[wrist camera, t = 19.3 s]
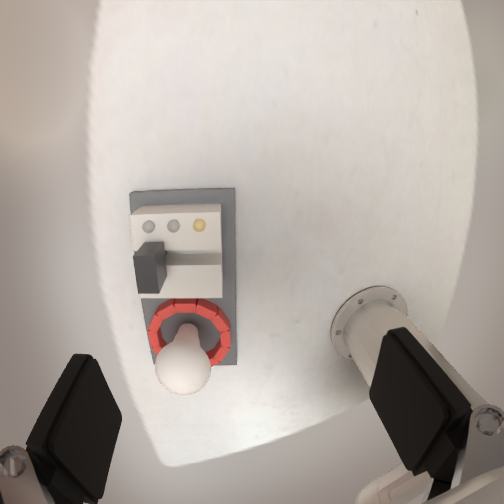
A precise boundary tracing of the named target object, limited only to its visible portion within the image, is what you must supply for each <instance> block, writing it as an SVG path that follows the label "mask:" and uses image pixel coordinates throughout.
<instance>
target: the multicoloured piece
mask: <svg viewBox="0 0 504 504" xmlns="http://www.w3.org/2000/svg"><path fill="white" fill-rule="evenodd" d="M129 196H130V210H131V214H130V215H129V220H130V231H131V241H132V250H133V251H134V252H135V253H136V252H137V251H138V249H139V248H140V247H141V246H142V245H143V243H144V242H164V248H165V250H167V254H166V256H165V260H166V270H167V277H166V280H165V282H164V284H163V286H162V289H161V291H160V293H159V294H139V298H141V302H142V308H143V313H144V319H145V324H146V330H147V335H148V340H149V345H150V349H151V354H152V359H153V363H154V364H155V362H156V358H157V355H158V354H159V352H160V351H161V349H162V348H163V347H165V346H166V345H168V344H169V343H171V342H173V340H174V338H175V336H176V334H177V333H178V330H179V328H180V326H181V325H182V324H185V323H191V324H193V325H195V326H196V327H197V329H198V337H199V340H200V347H201V348H202V349H203V350H204V352H205V353H206V354H207V356H208V358H209V361H210V365H211V367H212V366H214V365H237V348H236V293H235V188H205V189H174V190H153V191H135V192H131V193H129Z"/></svg>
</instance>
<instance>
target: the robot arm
mask: <svg viewBox="0 0 504 504" xmlns="http://www.w3.org/2000/svg"><path fill="white" fill-rule="evenodd" d="M331 338H332V342H333V345H334V347H335V349H336V350H337V352H338V353H339V354H340V355H341V356H343V357H345V358H346V359H350V360H354V361H355V363H356V365H357V366H358V368H359V370H360V372H361V374H362V375H363V377H364V379H365V381H366V383H367V384H368V386H369V388H370V391H369V396H370V400H371V402H372V404H373V406H374V408H375V410H376V411H377V413H378V415H379V417H380V419H381V421H382V423H383V425H384V427H385V429H386V431H387V433H388V434H389V436H390V438H391V440H392V442H393V444H394V446H395V448H396V450H397V452H398V454H399V456H400V458H401V460H402V462H400V463H399V464H398V465H396V466H395V467H393V468H392V469H390V470H389V471H387V472H386V473H384V474H383V475H381V476H379V477H378V478H376V479H375V480H373V481H372V482H370V483H369V484H368V485H366V486H365V487H364V488H363V489H362V490H361V491H360V492H359V494H358V495H357V497H356V499H355V502H354V504H504V411H502V409H500V408H499V407H497V406H495V405H491V404H490V403H488V402H487V401H486V400H485V399H484V398H483V397H481V396H480V395H479V394H478V393H477V392H476V391H475V390H474V389H473V388H472V387H471V386H470V385H469V384H468V383H467V382H466V381H465V380H464V378H463V377H462V376H461V375H460V374H459V373H458V372H457V371H456V370H455V369H454V367H452V365H451V364H450V363H449V362H448V361H447V360H446V359H445V358H444V356H443V355H442V354H441V353H440V352H439V351H438V350H437V349H436V348H435V346H434V345H433V344H432V343H431V342H430V341H429V340H428V339H427V338H426V337H425V336H424V335H423V334H422V332H421V331H420V330H419V329H418V328H417V327H416V326H415V325H414V324H413V323H412V322H411V321H410V320H409V319H408V318H407V305H406V303H405V301H404V299H403V298H402V297H401V295H400V294H398V293H397V292H396V291H395V290H393V289H391V288H387V287H373V288H369V289H366V290H364V291H361V292H359V293H358V294H356V295H354V296H353V297H352V298H351V299H349V300H348V301H347V302H346V303H345V304H344V305H343V306H342V307H341V309H340V310H339V312H338V313H337V315H336V317H335V319H334V321H333V325H332V328H331ZM121 422H122V415H121V412H120V410H119V408H118V406H117V404H116V402H115V399H114V398H113V395H112V393H111V391H110V389H109V387H108V385H107V382H106V380H105V378H104V376H103V373H102V371H101V368H100V366H99V364H98V362H97V360H96V359H93V357H92V356H91V355H89V354H74V355H73V356H72V358H71V359H70V361H69V363H68V364H67V366H66V368H65V369H64V371H63V373H62V375H61V377H60V378H59V380H58V382H57V383H56V385H55V387H54V389H53V391H52V393H51V394H50V396H49V398H48V400H47V402H46V404H45V406H44V407H43V409H42V411H41V413H40V415H39V417H38V419H37V421H36V423H35V425H34V427H33V429H32V431H31V433H30V435H29V437H28V440H27V442H26V445H27V448H26V450H25V449H24V448H22V447H20V446H15V445H12V446H8V447H6V448H4V449H3V450H1V451H0V504H83V502H85V503H89V504H97V503H98V499H101V498H102V497H103V494H104V489H105V484H106V481H107V476H108V472H109V468H110V463H111V459H112V456H113V452H114V448H115V444H116V441H117V437H118V433H119V430H120V426H121Z"/></svg>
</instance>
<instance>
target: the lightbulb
mask: <svg viewBox="0 0 504 504" xmlns="http://www.w3.org/2000/svg"><path fill="white" fill-rule="evenodd" d="M155 371H156V375H157V378H158V380H159V381H160V383H161V384H162V385H163V386H164V387H165V388H166V389H167V390H169V391H170V392H172V393H175V394H178V395H190V394H193V393H196V392H198V391H199V390H201V389H202V388H203V387H204V386H205V385H206V383H207V382H208V380H209V377H210V373H211V365H210V361H209V358H208V356H207V354H206V353H205V352H204V350H203V349H202V348H201V347H200V340H199V337H198V329H197V327H196V326H195V325H193V324H191V323H185V324H182V325H181V326H180V328H179V330H178V333H177V334H176V336H175V338H174V340H173V342H171V343H169V344H168V345H166V346H165V347H163V348H162V349H161V351H160V352H159V354H158V355H157V358H156V362H155Z"/></svg>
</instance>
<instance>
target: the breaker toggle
mask: <svg viewBox="0 0 504 504" xmlns="http://www.w3.org/2000/svg"><path fill="white" fill-rule="evenodd" d="M166 254H167V250H165V248H164V242H144V243H143V245H142V246H141V247H140V248H139V249H138V251H137V252H136V253H135V254H134V255H133V260H134V267H135V275H136V282H137V288H138V294H159V293H160V291H161V289H162V286H163V284H164V282H165V280H166V277H167V270H166V260H165V256H166Z"/></svg>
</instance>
